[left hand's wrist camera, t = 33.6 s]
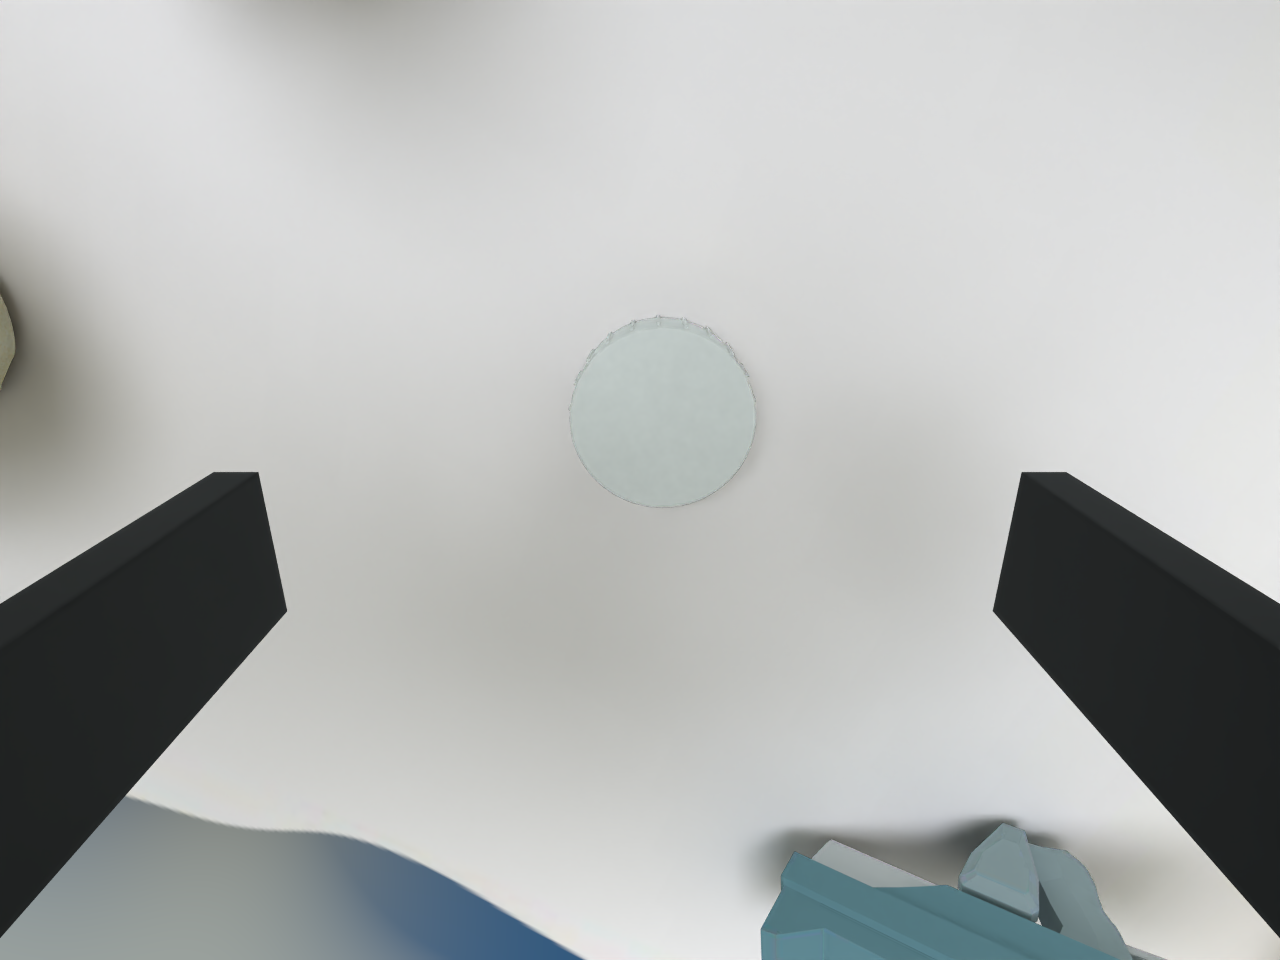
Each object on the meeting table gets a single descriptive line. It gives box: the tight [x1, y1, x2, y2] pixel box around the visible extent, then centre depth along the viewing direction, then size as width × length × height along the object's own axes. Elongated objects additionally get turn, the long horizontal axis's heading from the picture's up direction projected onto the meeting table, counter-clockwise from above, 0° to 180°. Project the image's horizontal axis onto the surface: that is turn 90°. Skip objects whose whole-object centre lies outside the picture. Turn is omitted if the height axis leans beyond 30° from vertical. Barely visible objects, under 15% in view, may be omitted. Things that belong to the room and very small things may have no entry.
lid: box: [569, 315, 756, 508], centre depth 22 cm, size 6×6×2 cm
